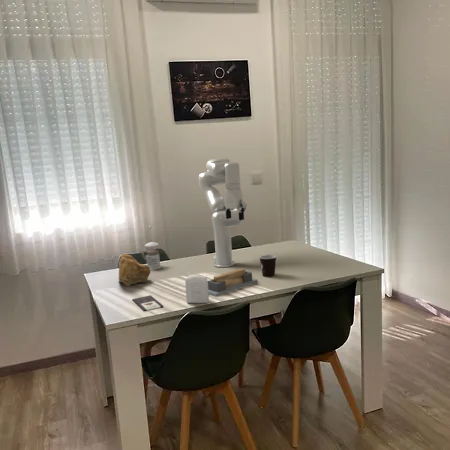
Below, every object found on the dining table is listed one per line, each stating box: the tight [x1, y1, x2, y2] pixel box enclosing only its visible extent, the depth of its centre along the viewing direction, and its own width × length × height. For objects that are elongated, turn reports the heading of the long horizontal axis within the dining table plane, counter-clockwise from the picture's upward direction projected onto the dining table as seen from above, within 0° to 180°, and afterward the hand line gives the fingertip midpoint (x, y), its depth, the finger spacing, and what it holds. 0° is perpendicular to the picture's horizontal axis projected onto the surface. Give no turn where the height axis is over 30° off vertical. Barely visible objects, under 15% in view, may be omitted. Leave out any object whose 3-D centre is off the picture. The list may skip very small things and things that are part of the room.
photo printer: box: [184, 274, 210, 304], centre depth 206 cm, size 10×4×12 cm, turn 81°
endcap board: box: [207, 270, 259, 297], centre depth 225 cm, size 10×28×5 cm, turn 133°
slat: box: [213, 268, 246, 287], centre depth 225 cm, size 3×18×6 cm, turn 132°
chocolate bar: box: [132, 295, 164, 312], centre depth 209 cm, size 9×1×18 cm
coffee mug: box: [259, 254, 277, 278], centre depth 241 cm, size 12×9×10 cm
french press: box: [141, 225, 163, 271], centre depth 270 cm, size 10×12×25 cm
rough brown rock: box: [118, 253, 151, 287], centre depth 243 cm, size 23×17×15 cm
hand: (235, 219), depth 240 cm, fingers open, 9 cm apart
